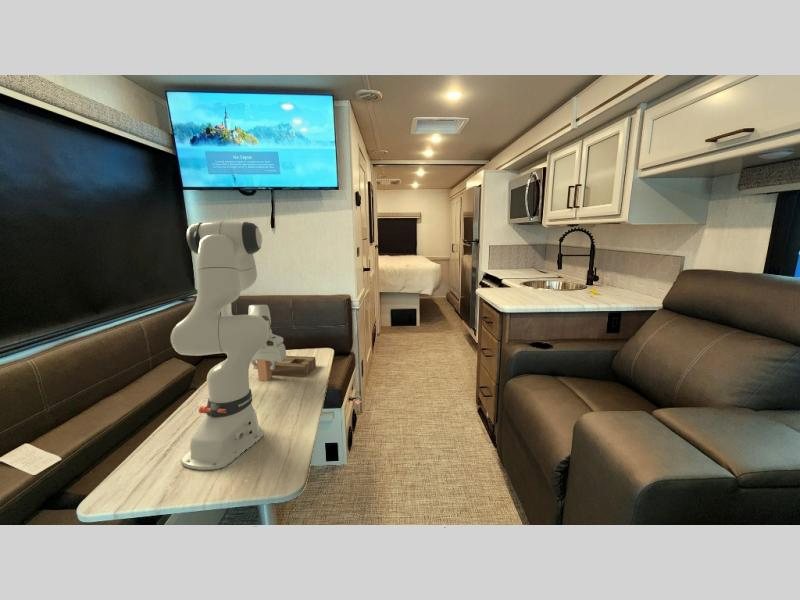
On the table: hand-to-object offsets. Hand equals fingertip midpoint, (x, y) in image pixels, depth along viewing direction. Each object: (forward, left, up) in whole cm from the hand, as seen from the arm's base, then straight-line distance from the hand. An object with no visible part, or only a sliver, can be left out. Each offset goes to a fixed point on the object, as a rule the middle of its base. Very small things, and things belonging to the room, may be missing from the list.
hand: (264, 369), depth 139 cm
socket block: (+10, -7, -5) cm, 13 cm away
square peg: (0, 0, -5) cm, 5 cm away
